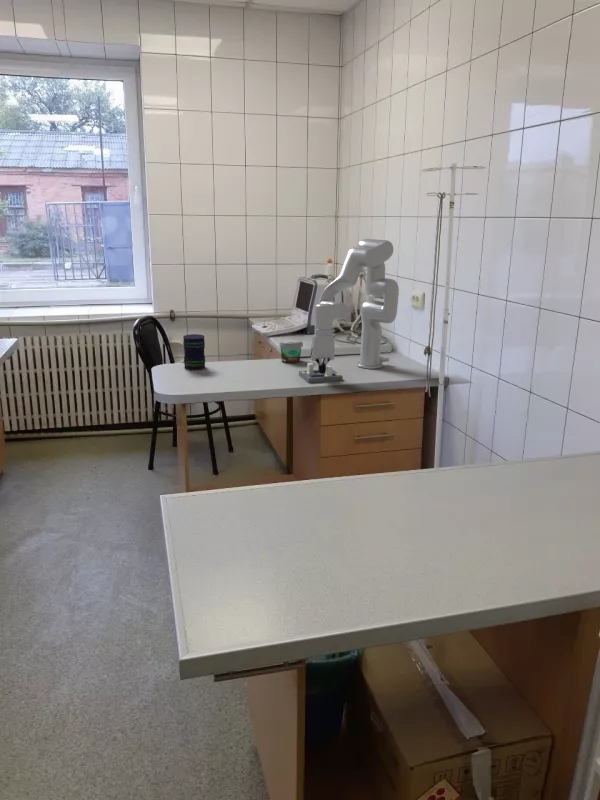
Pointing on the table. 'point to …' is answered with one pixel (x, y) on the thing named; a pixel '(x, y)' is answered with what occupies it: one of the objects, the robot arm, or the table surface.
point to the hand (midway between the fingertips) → (321, 372)
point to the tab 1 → (310, 368)
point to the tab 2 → (328, 371)
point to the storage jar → (194, 352)
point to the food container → (291, 352)
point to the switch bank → (320, 376)
